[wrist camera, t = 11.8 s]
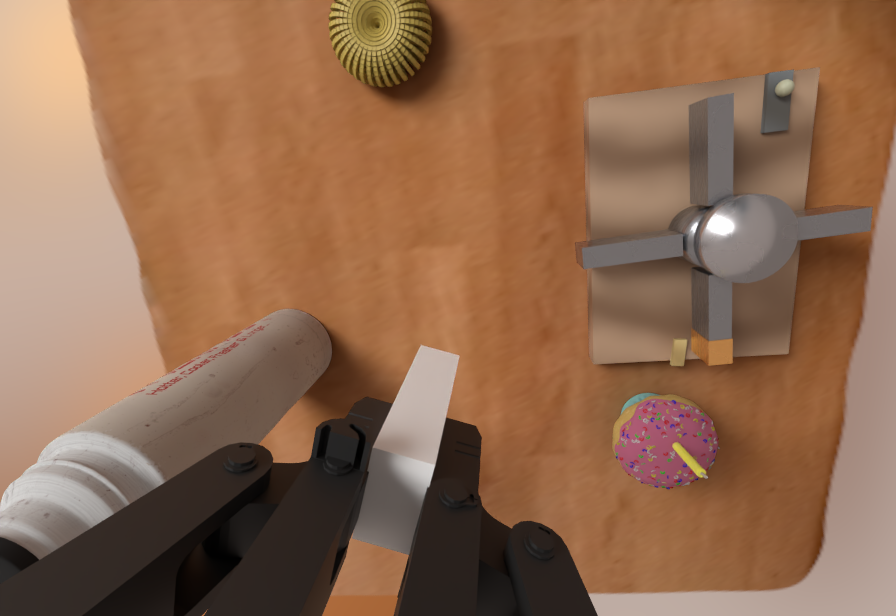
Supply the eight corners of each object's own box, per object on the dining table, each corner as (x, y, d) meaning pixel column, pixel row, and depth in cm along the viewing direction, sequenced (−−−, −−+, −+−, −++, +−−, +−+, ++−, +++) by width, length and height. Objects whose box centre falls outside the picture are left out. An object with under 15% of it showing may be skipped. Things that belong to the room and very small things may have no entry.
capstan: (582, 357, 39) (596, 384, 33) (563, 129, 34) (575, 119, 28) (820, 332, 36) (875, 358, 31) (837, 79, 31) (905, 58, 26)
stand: (583, 102, 35) (592, 94, 32) (801, 73, 33) (836, 61, 29) (589, 360, 41) (597, 376, 38) (773, 350, 39) (800, 366, 35)
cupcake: (603, 374, 41) (644, 449, 30) (698, 374, 40) (778, 450, 29) (600, 453, 44) (636, 549, 32) (689, 454, 43) (760, 554, 31)
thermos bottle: (244, 320, 44) (-151, 535, 17) (314, 299, 42) (1, 499, 16) (275, 389, 46) (-37, 681, 19) (344, 371, 44) (109, 661, 18)
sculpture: (314, 69, 33) (328, -55, 31) (333, 80, 37) (346, -29, 34) (416, 91, 33) (437, -33, 30) (424, 100, 36) (444, -9, 34)
